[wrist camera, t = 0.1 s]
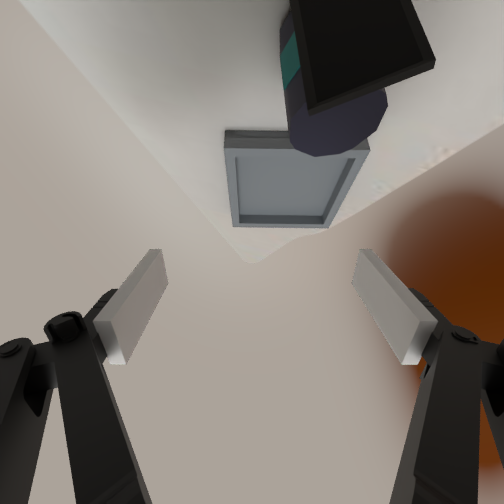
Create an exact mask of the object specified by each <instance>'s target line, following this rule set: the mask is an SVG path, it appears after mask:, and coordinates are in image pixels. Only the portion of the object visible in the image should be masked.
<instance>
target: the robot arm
mask: <svg viewBox="0 0 504 504" xmlns="http://www.w3.org/2000/svg"><path fill="white" fill-rule="evenodd" d="M167 285H168V280H167V275H166V269H165V264H164V259H163V254H162V250H161V249H150V250H149V251H148V253H147V254H146V255H145V256H144V257H143V259H142V260H141V261H140V262H139V264H138V265H137V266H136V267H135V269H134V270H133V271H132V273H131V274H130V275H129V276H128V277H127V279H126V280H125V281H124V282H123V284H122V285H121V286H120V288H119V289H111V290H110V291H108V292H107V293H105V294H104V295H103V296H102V297H101V298H100V299H99V300H98V302H97V303H96V304H95V305H94V306H93V308H91V310H90V311H89V312H88V313H87V314H86V315H85V317H84V318H82V315H81V314H80V313H79V312H75V311H72V312H66V313H62V314H60V315H58V316H55V317H54V318H52V319H51V320H49V321H48V322H47V323H46V325H45V326H44V332H45V333H46V335H47V337H48V339H49V342H44V343H40V344H36V345H33V343H32V342H31V340H29V339H28V338H18V339H14V340H11V341H8V342H6V343H4V344H3V345H1V346H0V504H28V500H29V496H30V491H31V487H32V482H33V477H34V473H35V469H36V465H37V460H38V456H39V451H40V447H41V442H42V437H43V433H44V429H45V424H46V420H47V415H48V411H49V406H50V402H51V397H52V393H53V389H54V388H57V387H58V389H59V396H60V403H61V409H62V415H63V422H64V428H65V434H66V441H67V447H68V454H69V460H70V467H71V473H72V479H73V485H74V492H75V498H76V504H152V502H151V499H150V496H149V493H148V490H147V488H146V485H145V482H144V479H143V476H142V473H141V471H140V468H139V465H138V462H137V459H136V456H135V454H134V451H133V448H132V445H131V442H130V440H129V437H128V434H127V431H126V428H125V426H124V423H123V420H122V417H121V414H120V412H119V409H118V406H117V403H116V400H115V397H114V395H113V392H112V389H111V386H110V383H109V380H108V378H107V375H106V372H105V370H104V367H103V364H102V363H103V362H104V360H105V358H106V357H108V360H109V363H110V364H127V362H128V360H129V358H130V356H131V355H132V353H133V351H134V348H135V347H136V345H137V343H138V341H139V339H140V337H141V335H142V333H143V331H144V329H145V327H146V325H147V324H148V321H149V320H150V318H151V316H152V314H153V312H154V310H155V308H156V306H157V304H158V302H159V300H160V298H161V297H162V294H163V293H164V290H165V289H166V287H167ZM352 285H353V286H354V287H355V289H356V291H357V293H358V294H359V296H360V298H361V299H362V301H363V303H364V304H365V306H366V307H367V309H368V311H369V312H370V314H371V316H372V317H373V319H374V320H375V322H376V324H377V325H378V327H379V329H380V330H381V332H382V333H383V335H384V337H385V338H386V340H387V342H388V343H389V345H390V346H391V348H392V350H393V352H394V353H395V355H396V356H397V358H398V360H399V361H400V363H401V365H406V364H407V365H410V364H411V365H417V364H418V363H419V361H420V358H421V356H423V358H424V359H425V360H426V362H427V364H426V366H425V368H424V370H423V372H422V374H421V376H420V379H421V384H420V388H419V392H418V395H417V399H416V403H415V407H414V411H413V415H412V418H411V422H410V426H409V430H408V434H407V438H406V442H405V445H404V450H403V453H402V457H401V461H400V465H399V469H398V472H397V476H396V480H395V484H394V488H393V492H392V496H391V499H390V503H389V504H478V469H479V435H480V401H481V400H482V403H483V406H484V409H485V412H486V415H487V419H488V422H489V425H490V428H491V431H492V434H493V437H494V440H495V443H496V447H497V450H498V453H499V456H500V459H501V462H502V465H503V468H504V339H503V340H502V342H501V343H500V345H499V344H495V343H490V342H485V341H481V340H480V339H479V338H478V336H477V335H475V334H474V333H473V332H471V331H469V330H467V329H465V328H463V327H460V326H454V325H452V324H451V323H450V322H449V321H448V320H447V319H446V318H445V317H444V315H443V314H442V313H441V312H440V311H439V310H438V309H436V308H435V307H434V305H432V303H431V302H429V300H428V299H427V298H426V297H425V296H424V295H423V294H421V293H420V292H418V291H417V290H415V289H413V288H407V287H406V286H405V285H404V284H403V283H402V282H401V281H400V280H399V279H398V277H397V276H395V274H394V273H393V272H392V271H391V270H390V269H389V268H388V267H387V266H386V265H385V264H384V262H383V261H382V260H381V259H380V258H379V257H378V256H377V255H376V254H375V253H374V252H373V251H372V250H371V249H360V250H359V254H358V259H357V263H356V267H355V272H354V276H353V280H352ZM480 399H481V400H480Z"/></svg>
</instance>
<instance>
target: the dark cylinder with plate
mask: <svg viewBox="0 0 504 504" xmlns="http://www.w3.org/2000/svg"><path fill="white" fill-rule="evenodd" d="M290 6H291V11H290V13H289V15H288V16H287V18H286V20H285V22H284V23H283V25H282V27H281V29H280V62H281V71H282V79H283V88H284V97H285V105H286V114H287V122H288V131H289V139H290V143H291V144H292V146H293V147H294V148H295V150H298V151H300V152H303V153H305V154H308V155H311V156H313V157H320V156H328V155H336V154H341V153H343V152H346V151H348V150H351V149H353V148H354V147H356V146H357V145H358V144H359V143H361V142H362V141H363V140H365V139H366V138H367V137H368V136H370V135H371V134H372V133H374V132H375V131H376V130H377V128H378V126H379V124H380V122H381V119H382V117H383V115H384V113H385V111H386V109H387V107H388V103H387V96H386V92H385V88H384V87H387V86H390V85H392V84H395V83H397V82H400V81H402V80H405V79H408V78H410V77H413V76H415V75H418V74H421V73H423V72H426V71H428V70H431V69H433V68H434V65H435V61H436V58H435V56H434V54H433V51H432V49H431V47H430V44H429V42H428V39H427V37H426V35H425V32H424V30H423V28H422V25H421V23H420V20H419V18H418V16H417V13H416V11H415V8H414V6H413V4H412V1H411V0H290Z"/></svg>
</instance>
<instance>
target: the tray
mask: <svg viewBox="0 0 504 504" xmlns="http://www.w3.org/2000/svg"><path fill="white" fill-rule="evenodd" d="M369 152H370V147H369V144H368V140H367V138H366V139H365V140H363V141H362V142H361V143H359V144H358V145H357V146H356V147H354V148H353V149H351V150H348V151H346V152H343V153H341V154H336V155H328V156H320V157H313V156H311V155H308V154H305V153H303V152H300V151H298V150H295V148H294V147H293V146H292V144H291V143H290V139H289V131H225V141H224V154H225V163H226V171H227V180H228V189H229V198H230V207H231V216H232V224H233V227H265V228H329V226H330V224H331V223H332V221H333V219H334V217H335V215H336V213H337V211H338V210H339V208H340V206H341V204H342V202H343V200H344V198H345V197H346V195H347V193H348V191H349V189H350V187H351V185H352V184H353V182H354V180H355V178H356V176H357V174H358V172H359V171H360V169H361V167H362V165H363V163H364V161H365V159H366V158H367V156H368V154H369Z"/></svg>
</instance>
